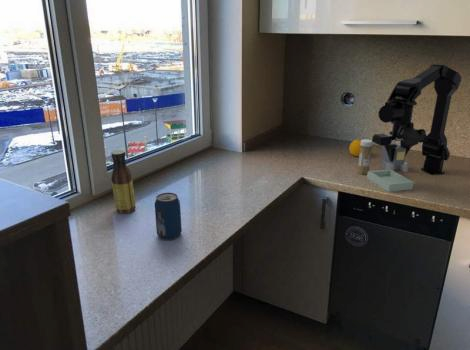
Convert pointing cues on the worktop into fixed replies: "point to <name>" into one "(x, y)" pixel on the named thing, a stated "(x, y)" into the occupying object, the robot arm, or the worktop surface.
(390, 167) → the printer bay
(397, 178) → the tray
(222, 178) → the worktop surface
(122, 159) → the sauce bottle
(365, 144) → the sprinkles bottle
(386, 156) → the grey block
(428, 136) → the robot arm
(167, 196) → the soda can
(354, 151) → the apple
